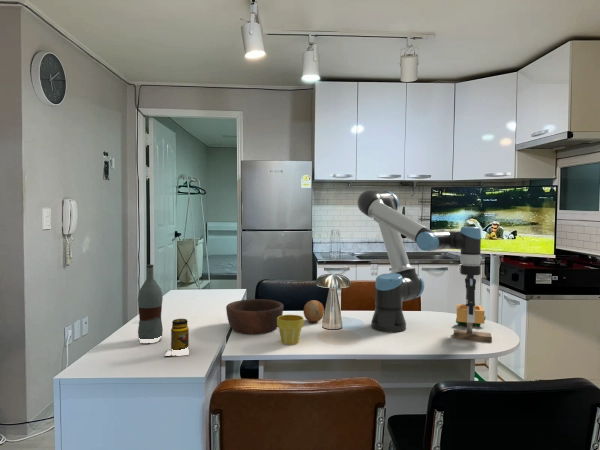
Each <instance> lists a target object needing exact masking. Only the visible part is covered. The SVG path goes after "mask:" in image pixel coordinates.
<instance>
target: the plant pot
mask: <svg viewBox="0 0 600 450" xmlns="http://www.w3.org/2000/svg"><path fill="white" fill-rule="evenodd" d="M304 318H305V317H304V316H302V315H298V314H282V315H281V316H278V317H277V327H278V331H279V335H280V341H281V344H283V345H288V346H294V345H298V343H299V341H300V338H301V334H302V333H301V332H302V329H303V327H304V320H305V319H304ZM293 344H294V345H293Z"/></svg>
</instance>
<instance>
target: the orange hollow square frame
mask: <svg viewBox="0 0 600 450" xmlns="http://www.w3.org/2000/svg"><path fill="white" fill-rule="evenodd" d="M484 316H485V309H484V306H483V305H476V304H475V323H480V324H482V325H484V324H485V320H484ZM456 318H457V322H467V306H466V304H462V303H456ZM468 323H469V322H468Z"/></svg>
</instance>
